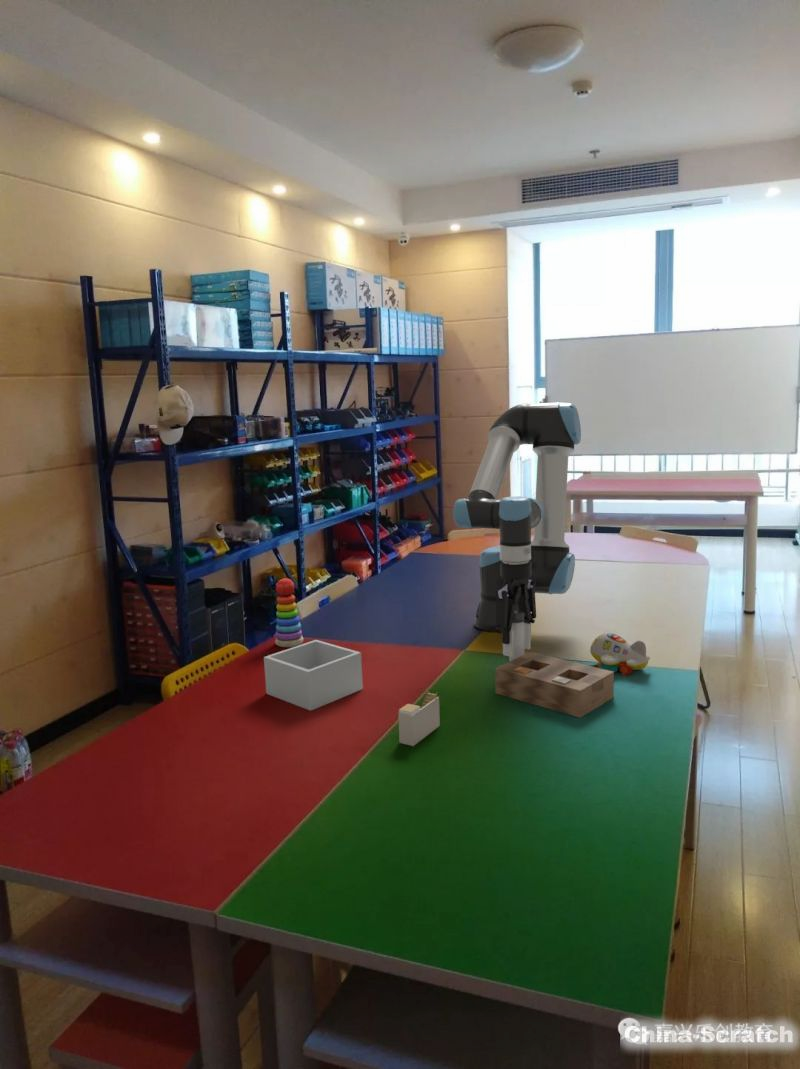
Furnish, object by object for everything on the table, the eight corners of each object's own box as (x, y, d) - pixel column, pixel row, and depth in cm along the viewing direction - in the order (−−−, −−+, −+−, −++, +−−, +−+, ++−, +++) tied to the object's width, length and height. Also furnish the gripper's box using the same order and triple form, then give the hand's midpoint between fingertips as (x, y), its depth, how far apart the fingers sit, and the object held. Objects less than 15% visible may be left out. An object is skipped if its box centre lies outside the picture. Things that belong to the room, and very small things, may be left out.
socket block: (495, 693, 180) (495, 666, 179) (530, 675, 190) (530, 650, 188) (580, 717, 165) (580, 689, 164) (613, 697, 175) (613, 670, 173)
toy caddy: (266, 693, 185) (263, 657, 183) (318, 674, 196) (316, 639, 195) (310, 710, 174) (308, 671, 172) (362, 689, 185) (360, 652, 184)
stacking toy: (309, 640, 223) (305, 576, 219) (293, 649, 216) (289, 583, 212) (285, 638, 226) (281, 574, 223) (269, 646, 219) (265, 581, 216)
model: (399, 744, 157) (398, 708, 155) (426, 724, 166) (425, 690, 164) (413, 748, 155) (412, 711, 154) (439, 727, 164) (438, 692, 162)
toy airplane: (634, 649, 181) (578, 633, 191) (631, 685, 183) (576, 667, 193) (662, 636, 190) (607, 621, 200) (659, 670, 192) (604, 654, 202)
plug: (506, 667, 196) (505, 613, 193) (515, 663, 198) (514, 609, 196) (518, 670, 193) (518, 615, 191) (527, 666, 196) (527, 612, 193)
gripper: (504, 570, 181) (506, 665, 186) (551, 555, 195) (551, 644, 199) (478, 566, 187) (480, 659, 191) (525, 552, 200) (526, 639, 205)
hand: (516, 651), depth 195 cm, fingers open, 6 cm apart
